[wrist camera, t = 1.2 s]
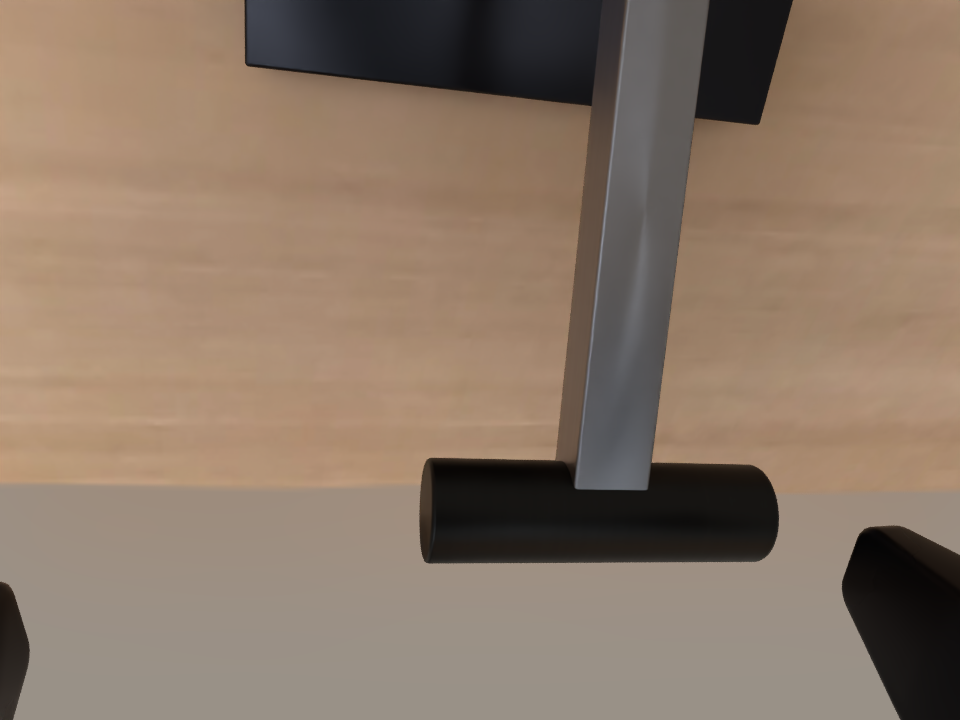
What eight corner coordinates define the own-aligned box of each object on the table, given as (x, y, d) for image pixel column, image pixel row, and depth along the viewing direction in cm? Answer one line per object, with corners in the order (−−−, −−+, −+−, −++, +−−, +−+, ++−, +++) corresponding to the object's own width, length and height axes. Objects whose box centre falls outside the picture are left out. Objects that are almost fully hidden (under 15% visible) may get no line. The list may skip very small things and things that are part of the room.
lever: (709, 525, 13) (791, 595, 10) (414, 524, 12) (432, 600, 9) (824, -288, 11) (960, -431, 8) (475, -370, 10) (517, -558, 7)
